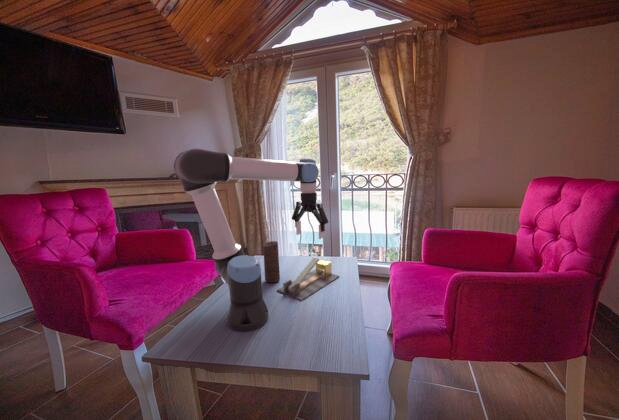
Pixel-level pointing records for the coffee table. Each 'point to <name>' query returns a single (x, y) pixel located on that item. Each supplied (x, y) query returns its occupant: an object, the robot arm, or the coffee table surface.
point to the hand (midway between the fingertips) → (309, 236)
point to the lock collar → (326, 266)
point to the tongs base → (307, 285)
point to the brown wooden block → (271, 261)
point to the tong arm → (304, 273)
